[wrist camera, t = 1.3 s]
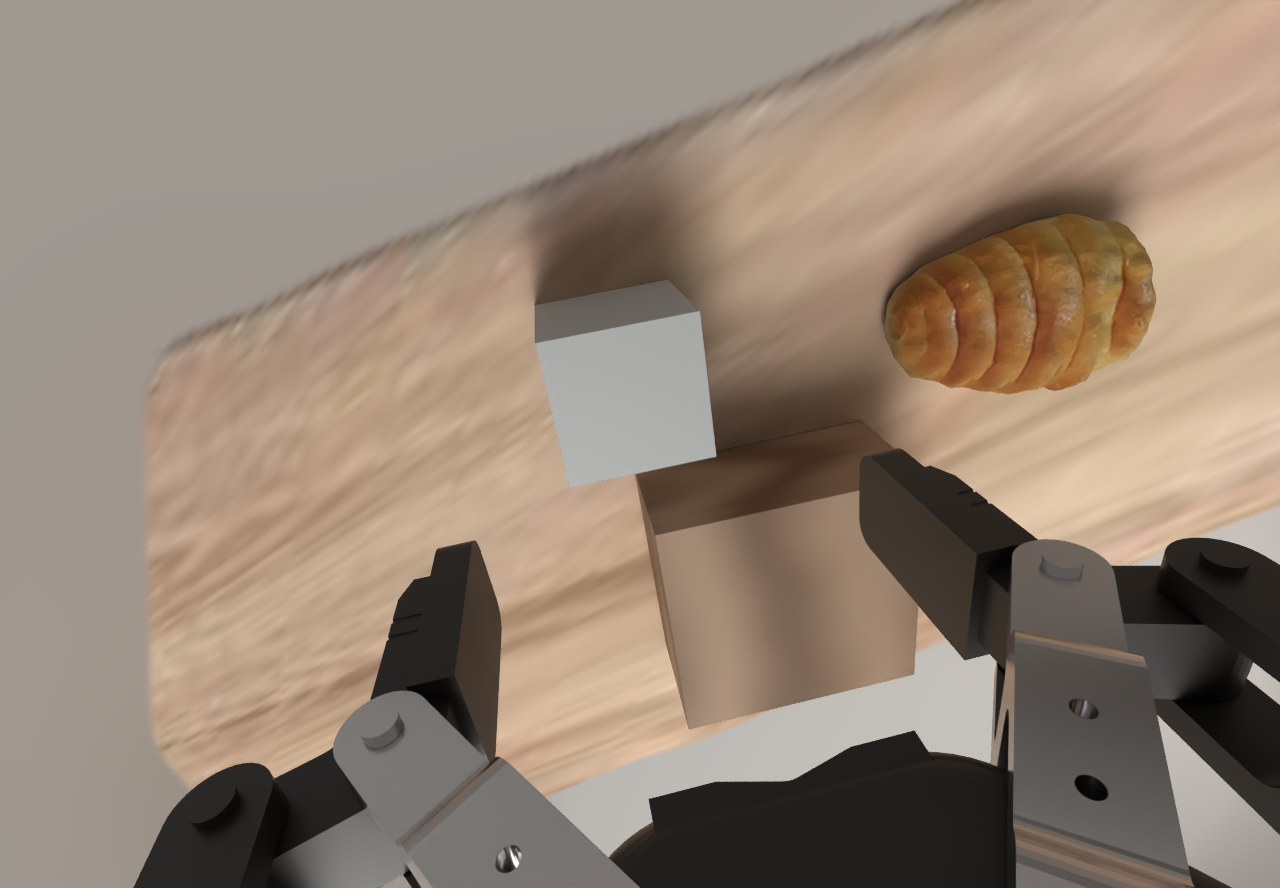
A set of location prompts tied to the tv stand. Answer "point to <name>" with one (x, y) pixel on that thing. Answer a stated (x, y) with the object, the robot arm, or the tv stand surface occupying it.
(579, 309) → the grey cube
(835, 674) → the tan square block
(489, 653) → the robot arm
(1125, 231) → the pastry
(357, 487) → the tv stand surface
